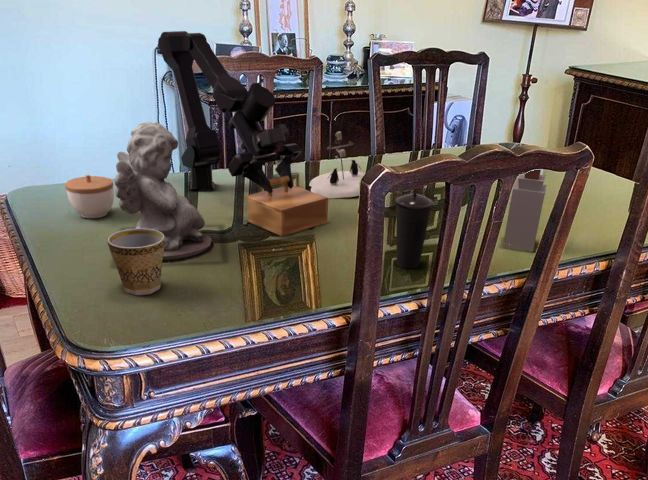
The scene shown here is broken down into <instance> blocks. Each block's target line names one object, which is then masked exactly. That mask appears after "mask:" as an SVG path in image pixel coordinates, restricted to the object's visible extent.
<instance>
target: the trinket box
mask: <svg viewBox="0 0 648 480" xmlns="http://www.w3.org/2000/svg"><path fill="white" fill-rule="evenodd" d="M64 188H65V191H66V196H67V199H68V201H69V204H70V206H71V207H72V209H73V210H74V211H75V212H76V213H78V214H79V215H80V217H82V218H85V219H98V218H99V219H100V218H103V217H105V216H107V215H108V212H109V211H110V210H112V207H113V205H114V201H115V200H114V199H115V192H114V191H115V190H114V181H113V179H111V178H109V177H105V176H98V175H97V176H95V175H90V174H86V175H85V176H79V177H75V178H71V179H69V180H67V181H66V182H65V183H64Z"/></svg>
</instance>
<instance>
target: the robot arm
mask: <svg viewBox="0 0 648 480" xmlns="http://www.w3.org/2000/svg"><path fill="white" fill-rule="evenodd" d="M157 45H158V49H159V50H160V53H161V56H162V59H163V61H164V62H165V64H166V65H167V66H168V67H169V68H170V69H171V71H172V72H173V75H174V79H175V82H176V83H175V84H176V86H177V90H178V94H179V98H180V102H181V106H182V110H183V113H184V117H185V121H186V124H187V128H188V130H187V133H186V137H185V146H186V148H185V150H184V152H183V154H182V155H181V157H180V159H181V163H182V166H183V167H186V168H189V170H190V180H191V182H190V185H189V190H190V191H193V192H195V191H216V190H215V189H216V187H215V182H214V180H213V167H212V166H214V165H219V162H220V157H221V150H222V149H221V143H220V140H219V135H218V132H217V130H216V129H212V128H211V127H210V126H209V125H208V123H207V119H206V115H205V112H204V108H203V104H202V99H201V96H200V91H199V87H198V84H197V81H196V80H197V79H196V77H195V73H194V69H193V68H194V67H193V65H194V62H195V63H196V65H197V67H198V69H200V71H201V72H202V74H203V76H204V77H205V78H206V80H207V82H208V83H209V84H210V86H211V89H212V98H213V100H214V102H215V104H216V106H217V108H218V110H219V111H220V113H223V114H230V113H234V115H233V116H230V117H229V122H228V125H227V128H228V129H229V130H234V129H235V131H236V133H237V134H238V136H239V138H240V140H241V142H242V143H241V144H240V147H241V149H242V150H246V151H245V152H244V151H243V152H239V153H235V155H234V156H233V158H232V159H231V160H230V161H229V163H228V166H227V169H228V172H229V174H230V176H231V177H232V178H233V177H234V178H235V177H239V176H241V177H242V178H246V179H247V180H249V181H251V182H252V183H255V184H256V185H257V186H259V187H260V188H262V189H263V191H267V192H268V193H272V192H273V190H272V189H273V186H272V187H271V185H270V183H269V181H268V180H269V178H268V177H267V176H266V173H265V172H264V169H263V164H267V163H272V162H274V163H275V165H276V167H275V168H274V170H275V172H276V173H277V175H278V177H282V176H289V178H290V181H289V182H288V187H289V188H290V189H291V188H292V187H293V185H294V181H293V174H292V165H291V164H293V163H294V162H295V160H297V158H298V157H299V155H301V153H302V149H301V148H300V146H299V144H297V143H295V142H294V143H288V144H283V145H282V146H281V148H280V149H279V150H278V151H275V150H277V149H278V147H279V145H278V144H281V143H282V142H283V143H285V142H287V140H286V139H288V138H289V137H290V132H289V129H288V127H287V126H286V124H285V123H282V124H278V125H276V126H275V127H274V128H269V129H267V128H265V129H263V128H262V125H261V124H260V123H261V122H263V121H264V120H265V119H266V117H267V116H268V114H269V113H270V111H272V109H273V107H274V106H275V104H276V97H275V95H274V93H273V92H271V91H270V89H268V88H266V87H264V86H262V85H261V83H260V82H251V85H250V86H249V89H248V90H247V88H246V87H245V85H243V84H242V83H241V81H240V80H239V79H237V78H235V77H233V76H231V75H230V74H229V73H228V71H227V70H226V69H225V67H224V65H223V64H222V62H221V61H220V59H219V58H218V57H217V56H216V54H215V52H214V51H213V49H212V48H211V47H210V45H209V43H208V41H207V37H206V35H205V34H203V33H201V32H188V31H185V30H177V31H176V30H175V31H174V30H173V31H172V30H171V31H162V32H161V34H160V37H158V39H157Z"/></svg>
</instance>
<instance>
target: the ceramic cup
mask: <svg viewBox="0 0 648 480" xmlns="http://www.w3.org/2000/svg"><path fill="white" fill-rule="evenodd" d="M106 242H107V245H108V248H109V249H108V250H109V252H110V255H111V257H112V259H113V262H114V264H115V266H116V270H117V272H118V275H119V278H120V281H121V284H122V287H123V289H124V291H125V293H127V294H131V295H134V296H146V295H151V294H153V293H155V292H157V291H159V290H160V289H161V283H162V269H163V262H162V259H163V253H164V235H163V233H161V232H159V231H157V230H153V229H146V228H136V227H135V228H127V229H122V230H118V231H116V232H114V233H112V234H110V235H109V236H108V237H107V238H106Z"/></svg>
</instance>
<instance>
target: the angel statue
mask: <svg viewBox="0 0 648 480" xmlns="http://www.w3.org/2000/svg"><path fill="white" fill-rule="evenodd" d="M130 136H131V137H130V139H129V141H128V143H127V144H126V145H127V146H126V151H127V152H124V151H118V152H117V154H116V157H117V159H118V162H117V163H116V164H115V168H116V171H117V174H115V177H114V185H115V186H116V188H115V196H116V198H117V199H119V202H118V205H119V208H120V209H121V210H122V211H126V213H127V214H129V215H134V214H136V213H140V219H139V220H138V221H137V224H136V226H135V228H146V229H153V230H157V231H159V232H161V233H163V235H164V253H163V259H162V263H174V262H184V261H186V260H191V259H192V260H193V259H195V258H200V257H202V256H205V255H206V254H207V253H210V252H212V251H213V249H214V248H215V243H214V242H215V241H213V239H212V237H210V236H209V235H207V234H204V233H203V232H200V231H199V230H202V229H203V228H204V226H205V225H206V222H205V219H204V218H203V216H202V215H201V212H199V210H198V209H197V208H196V207H195V206H194V205H193V204H190V201H189V200H188V198H187V197H186V196H184V195H181V194H178V193H177V190H176V188H175V187H174V185H173V184H172V183H170V182H168V181H166V179H167V178H168V177H169V174H170V172H171V170H172V166H173V164H172V162H171V160H172V155H173V151H175V150H177V148H178V146H179V140H178V139H177V138H175V136H174V135H173V133H172V132H171V131H170V130H168V129H167V128H166V127H165V126H164V125H162V124H161V123H160V122H149V121H148V122H142V123H139V124H138V125H137V126H136V127H135V128H134V129H132V130H131V132H130Z"/></svg>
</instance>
